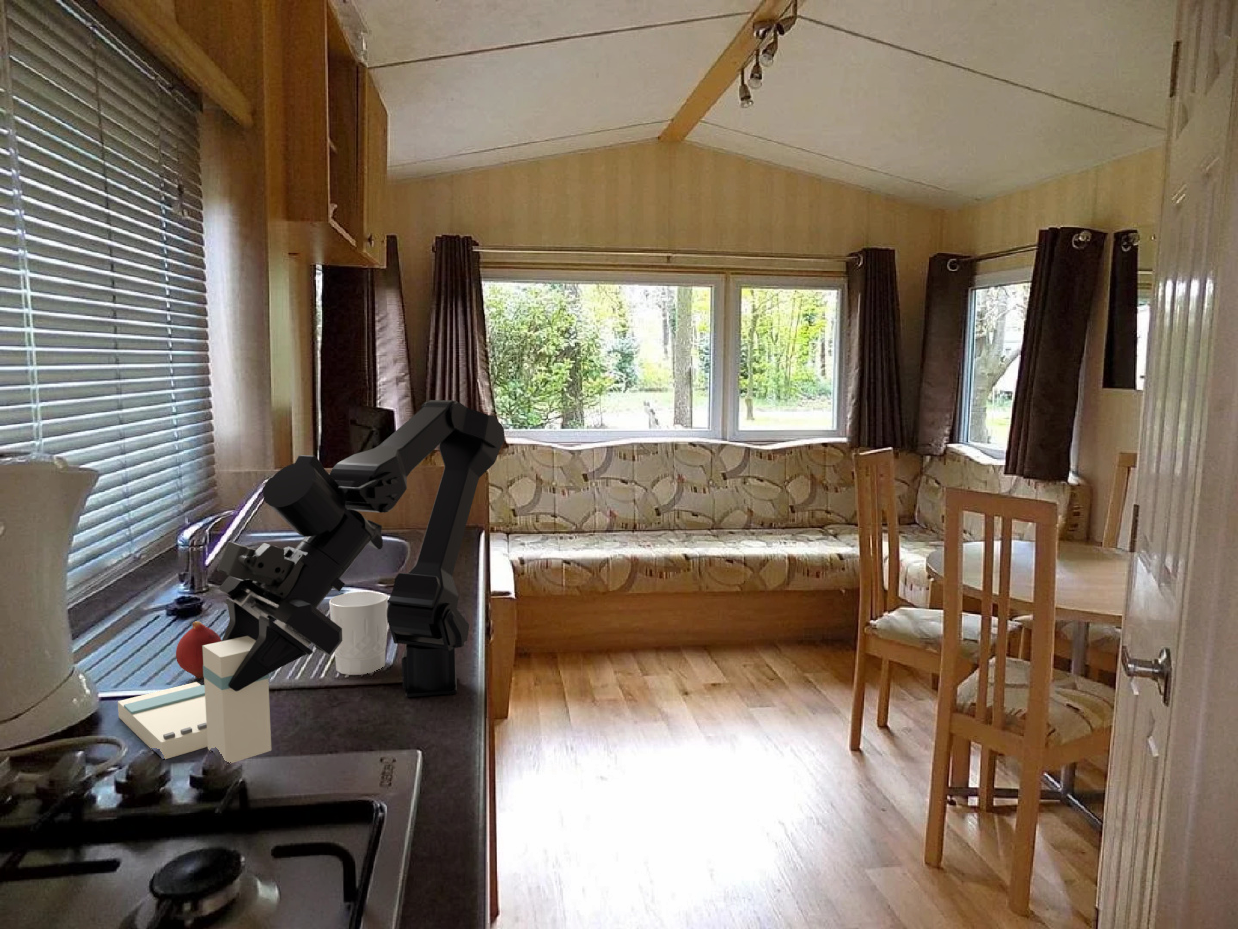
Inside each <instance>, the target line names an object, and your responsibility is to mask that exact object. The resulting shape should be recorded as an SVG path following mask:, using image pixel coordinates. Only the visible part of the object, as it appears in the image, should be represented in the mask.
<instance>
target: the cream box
mask: <svg viewBox="0 0 1238 929" xmlns="http://www.w3.org/2000/svg"><path fill="white" fill-rule="evenodd" d="M255 642H256V640H254V639H252V638H251V637H249V636H244V637H240V638H235V639H230V640H226V641H221V642H217V643H212V644H207V645H203V646H202V647H203V677H204V678H203V683H204V684H203V685H205V704H206V723H207V742H208V747H207V750H208V751H210V749H211V748H215V747H216V748H217V749H218V750H219V752H220V754H222V756H223V758H224V760H225V761H227V762H229V763H230V762H231V763H230V764H233V763H236V762H240V761H243V760H246V759H250V758H253V757H255V756H258V755H261V754H266V753H268V752H271V751H272V738H271V737H272V733H271V711H270V688H269V685H270V684H269V679H270V673H269V674H268V675H266V676H264V677H262V678H260V679H259V680H257V681H255V682H253V683H252V684H250V685H248V686H246V687H244V688H243V689H241V690H239V691H234V690H233V689H231V688H230V687H229V686H228V684H229V682H230V681H231V679H232V677H233V676H234V674H235V672H236V671H237V669H238V668H239V666H240V664H241V663H242V661H243V660H244V658H245V657H246V655H247V654H248V652H249V651H250V649H251V648H252V646H253V645H254V643H255Z"/></svg>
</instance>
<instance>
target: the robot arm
mask: <svg viewBox="0 0 1238 929" xmlns="http://www.w3.org/2000/svg"><path fill="white" fill-rule="evenodd" d="M504 442H505V429H504V425H503V424H502V423H501V422H499V420H498V418H497V417H496V416H495V415H493V414H486V413H484V412H481V411H478V410H475V409H472V408H470V407H467V406H466V405H464V404H463V403H461V402H458V401H457V400H446V399H445V400H441V399H439V400H438V399H437V400H436V399H435V400H434V399H430V400H428V401H425V402H423V403H422V405H421V406H420V409H419V411H417V412H416V413H415V414H414V415H413V416H411V417H410V418H409V419H408V420H407V421H405V423H403V424H402V425H400V427H399V428H397V429H396V430H395V431H394V432H393V433H392V434H391V435H390V436H388V437H387V438H386V439H384V441H382V442H381V443H380V444H379V445H377V446H376V447H374V448H372V449H369V450H364V451H360V452H357V453H354V454H352V455H349V456H348V457H346V458H344V459H342V460H341V461H339V462H337V463H336V464H334V466H333V467H332V469H331V470H330V472H328V471H327V470H326V469H325V468H324V466H323V463H322V462H321V461H320V460H319V459H318V458H317V456H316V455H306V454H305V455H304V454H303V455H302V454H300V455H298V457H297V458H296V460H295V462H293V463H290V464H288V465H285V466H284V467H283V468H281V469H279V470H278V471H277V472H276V473H274V475H273V476H271V477H269V478H268V479H267V481H266V483H265V484H264V487H263V490H262V491H263V492H262V495H263V496H262V498H263V500H264V503H266V504H267V505H268V506H269V507H270V508H271V509H272V510H273V511H274V512H275V513H276V514H277V515H278V516H279V517H280V518H281V519H282V520H283V521H284V522H285V523H286V524H287V525H288V526H289V527H290V528H291V529H292V530H293V531H294V532H296V533H297V534H298V535H300V536H301V537H304V538H303V539H302V540H301V542H300V543H299V544H297V546H296V547H295V548H294V547H292V546H289V545H288V546H286V547H283V548H281V547H278V546H275V545H272V544H268V543H265V542H263V543H262V544H261V545H260V546H258V548H253V547H250V546H247V545H244V544H240V543H237V542H233V541H231V540H230V541H228V542H227V544H226V547H225V549H224V552H223V554H222V557H221V558H220V561H219V563H218V566H217V569H216V571H218V572H223V573H226V575H227V577H226V579H225V580H224V581H223V582H222V584H221V585H220V586H219V587H218V588H217V590H218V591H220V592H221V593H222V594H223V595H225V596H226V597H227V598H225V605H227V609H228V616H229V621H228V624H227V627H226V629H225V632H224V635H223V637H222V639H221V640H222V641H226V640H230V639H235V638H240V637H244V636H249V637H251V638H252V639H254V640H256V642H255V643H254V645H253V646H252V648H251V649H250V651H249V652H248V654H247V655H246V657H245V658H244V660H243V661H242V663H241V664H240V666H239V668H238V669H237V671H236V672H235V674H234V676H233V677H232V679H231V681H230V682H229V684H228V686H229V687H230V688H231V689H233V690H234V691H239V690H241V689H243V688H244V687H246V686H248V685H250V684H252V683H253V682H255V681H257V680H259V679H260V678H262V677H264V676H266V675H268V674H269V675H270V674H272V672H274V671H276V670H278V669H281V668H282V667H284V666H286V665H288V664H290V663H293V662H295V661H296V660H298V659H300V658H302V657H304V656H307V655H308V656H311V655H313V653H314V651H313V650H312V649H311V648H309V647H310V646H311V645H312V644H313V645H314V648H315V649H317V651H319V652H322V653H324V654H325V655H328V656H329V657H332V655H333V654H334V653H335V652H334V651H335V650H336V649H337V647H338V646H339V645H340V643H341V642H342V628H341V627H340V626H338V625H337V624H336V623H334V622H333V621H332V620H331V618H329V617H328V616H327V615H325V614H324V613H323V612H321V611H320V610H319V609H318V607H319V606H320V605H321V604H322V602H323V601H324V600H325V599H326V597H327V596H328V595H329V593H330V592H331V591H332V590H334V591H337V592H340V591H341V590H342V589H343V587H344V586H345V585H346V583H345V582H344V581H342V580H341V578H342V577H343V575H345V574H346V572H347V571H348V570H349V569H350V567H351V565H352V564H353V563H354V562H355V561H356V559H357V558H358V557H359V555H361V553H362V551H364V549H365V548H366V547H367V545H368V546H370V547H372V548H374V549H377V550H382V549H383V546H384V543H383V542H384V541H383V540H384V539H383V537H382V529H383V526H382V525H381V524H379V523H377V522H375V521H372V520H370V519H369V520H367V519H366V517H365V516H363V514H362V513H361V512H366V513H367V512H368V513H382V514H383V513H384V514H385V513H389V512H390V511H391V510H393V508H395V506H396V505H397V503H398V502H399V500H400V499H401V498H402V496H403V495H404V494H405V492H406V491H407V489H408V482H407V481H408V480H407V479H408V476H409V475H410V474H411V472H412V471H413V470H414V469H415V468H417V466H418V465H420V463H422V461H423V460H424V459H426V458H427V457H428V456H429V455H430V454H431V453H433V451H434V450H435V449H437V447H438V450H439V452H440V456H441V459H442V462H443V465H444V468H443V472H442V475H441V479H440V482H439V485H438V488H437V493H436V496H435V499H434V503H433V506H432V510H431V512H430V516H429V520H428V523H427V526H426V531H425V533H424V537H423V540H422V543H421V546H420V547H421V548H420V551H419V553H418V557H417V561H416V563H415V565H414V567H412V568H411V569H410V570H409V571H408V572H398V574H397V575H396V577H395V578H394V582H393V587H392V591H391V594H390V596H389V597H388V601H387V602H388V608H387V625H388V627H389V630H390V633H391V637H392V640H393V644H396V645H400V644H402V645H406V646H405V648H406V649H405V650H404V651H403V652H402V656H401V677H402V678H401V680H402V681H401V682H402V688H403V689H405V697H406V698H411V697H415V698H416V697H423V696H424V697H426V696H438V695H439V696H440V695H441V696H442V695H451V694H457V693H458V684H457V683H458V682H457V681H458V680H457V671H456V649H458V648H462V647H464V646H465V642H467V641H468V638H469V631H470V624H469V623H468V621H467V620H466V618H464V616H463V615H462V614H461V612H460V611H459V609H458V603H459V594H458V590H457V587H456V583H455V581H454V578H453V576H454V571H455V567H456V564H457V560H458V557H459V553H460V549H461V545H462V541H463V537H464V534H465V531H466V527H467V523H468V520H469V515H470V512H471V509H472V504H473V501H474V497H475V493H476V490H477V486H478V483H479V480H480V478H481V477H482V476H483V475H484V474H485V473H486V472H487V471H488V470H489V469H491V467H492V466H493V465H494V464H495V463H496V460H497V458H498V456H499V454H500V451H501V448H502V445H504Z"/></svg>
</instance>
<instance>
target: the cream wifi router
mask: <svg viewBox="0 0 1238 929" xmlns="http://www.w3.org/2000/svg"><path fill="white" fill-rule="evenodd" d="M117 710H118V718H119V719H120V720H121V721H122V722H123V723H124V724H125V725H126V727H128V728H129V729H130V730H131V731H132V732H133V733H134V734H135V736H137V737H139V738H140V740H141V741H142V742H144V744H145V745H146V746H148V748H150V749H151V748H157V749H160V751H161V752H162V754H163V755H164V758H165V760H167V759H171V758H174V757H178V756H181V755H184V754H188V753H191V752H194V751H197V750H201V749H204V748H208V742H207V723H206V704H205V685H204V684H200V683H199V682H197V681H194V682H191V683H186V684H183V685H178V686H175V687H171V688H166V689H163V690H162V689H161V690H157V691H155V692H150V693H146V694H142V695H138V696H137V695H136V696H134V697H130V698H126V699H122V700H118V701H117Z"/></svg>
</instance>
